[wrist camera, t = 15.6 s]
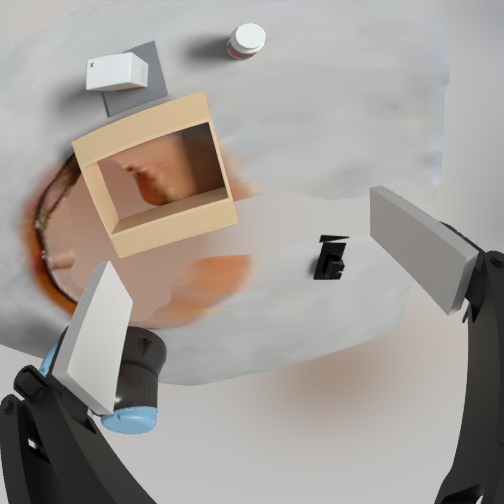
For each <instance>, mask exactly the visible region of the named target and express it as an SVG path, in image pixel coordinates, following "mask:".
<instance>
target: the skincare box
mask: <svg viewBox="0 0 504 504" xmlns="http://www.w3.org/2000/svg"><path fill="white" fill-rule="evenodd" d="M147 80H148V64H147V63H146V62H145V61H143V60H142V59H140V58H139V57H138V56H136V55H135V54H133V53H132V52H127V53H121V54H114V55H107V56H103V57H98V58H93V59H89V60H87V66H86V90H95V91H110V92H115V91H121V90H127V89H136V88H147Z"/></svg>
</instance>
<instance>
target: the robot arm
mask: <svg viewBox="0 0 504 504" xmlns="http://www.w3.org/2000/svg"><path fill="white" fill-rule="evenodd" d="M370 210H371V211H370V226H371V228H370V236H371V237H372V238H373V239H374V240H376V241H377V242H378V243H379V244H380V245H381V246H382V247H383V248H384V249H385V250H386V251H387V252H388V253H389V254H390V255H391V256H392V257H393V258H394V259H395V260H396V261H397V262H398V263H399V264H400V265H401V266H402V267H403V268H404V269H405V270H406V271H407V272H408V273H409V274H410V275H411V276H412V277H413V278H414V279H415V280H416V281H417V282H418V283H419V284H420V285H421V286H422V287H423V289H424V290H425V291H426V292H427V293H428V294H429V295H430V296H431V297H432V298H433V299H434V301H436V303H437V304H438V305H439V306H440V307H441V308H442V310H443V311H444V312H445V313H446V314H447V315H448V316H449V315H451V314H453V313H455V312H456V311H458V310H460V309H461V307H462V304H463V301H464V298H466V299H467V300H468V301H469V305H468V308H467V310H466V312H465V315H464V317H463V320H462V323H464V322H465V320H466V318H467V317H468V371H467V385H466V395H465V404H464V412H463V418H462V425H461V430H460V436H459V440H458V445H457V449H456V454H455V458H454V462H453V465H452V468H451V470H450V472H449V473H448V475H447V476H446V477H445V479H444V481H443V483H442V484H441V487H440V489H439V492H438V495H437V497H436V500H435V503H434V504H476V502H477V500H478V499H479V498H480V496H482V495H483V498H482V501H481V504H504V254H503V253H501V252H498V251H489V252H487V253H485V252H484V251H483V250H482V249H481V248H479V247H478V246H477V245H475V244H474V243H473V242H472V241H470V240H469V239H468V238H466V237H464V235H462V234H461V233H459V232H457V230H455V229H454V228H453V227H451V226H450V225H448V224H445V223H443V222H440V221H437V220H436V219H434V218H433V217H432V216H430V215H429V214H427V213H426V212H424V211H423V210H421V209H420V208H418V207H416V206H415V205H413V204H412V203H410V202H409V201H407V200H406V199H404V198H402V197H401V196H399V195H397V194H396V193H394V192H393V191H391V190H389V189H387V188H386V187H384V186H382V185H381V186H377V187H372V188H370ZM132 304H133V301H132V300H131V298H130V296H129V295H128V293H127V291H126V289H125V288H124V286H123V284H122V282H121V281H120V279H119V277H118V275H117V273H116V271H115V270H114V268H113V266H112V264H111V262H110V260H107V261H104V262H101V263H98V264H97V265H96V267H95V269H94V271H93V273H92V275H91V277H90V279H89V281H88V283H87V285H86V288H85V289H84V292H83V294H82V296H81V298H80V300H79V303H78V305H77V307H76V310H75V312H74V314H73V317H72V319H71V321H70V324H69V326H67V328H66V329H65V331H64V332H63V333H62V335H61V337H60V339H59V342H58V343H55V344H53V345H52V347H51V348H50V349H49V351H48V353H47V354H46V356H45V358H44V360H43V362H42V364H41V367H40V369H39V371H38V370H37V369H36V368H35V367H34V366H32V365H28V366H25V367H24V368H22V369H21V370H20V371H19V373H18V374H17V376H16V378H15V380H14V390H15V391H16V392H18V393H19V394H20V395H21V396H22V397H23V398H24V399H25V400H22V401H21V400H20V399H18V398H17V397H16V396H15V395H13V394H10V395H7V396H6V397H5V398H4V399H3V400H2V402H1V405H0V449H1V461H2V468H3V476H4V481H5V488H6V492H7V498H8V502H9V504H157V503H156V502H155V501H154V500H153V499H152V498H151V497H150V496H149V495H148V494H147V493H146V491H145V490H144V489H143V488H142V487H141V486H140V484H139V483H138V482H137V481H136V480H135V479H134V477H133V476H132V475H131V474H130V472H129V471H128V470H127V469H126V467H125V466H124V465H123V464H122V462H121V461H120V459H119V458H118V457H117V455H116V454H115V452H114V451H113V450H112V448H111V447H110V445H109V444H108V442H107V441H106V439H105V438H104V436H103V435H102V433H101V432H100V430H99V429H98V427H97V426H96V424H95V422H94V421H93V419H92V418H93V414H94V415H96V416H99V417H101V422H102V425H103V426H104V427H105V428H107V429H109V430H111V431H114V432H117V433H122V434H142V433H146V432H148V431H151V430H152V429H153V428H154V427H155V425H156V418H157V413H158V410H157V391H158V375H159V373H160V371H161V369H162V366H163V364H164V363H165V360H166V352H167V350H166V346H165V343H164V342H163V341H162V339H161V338H160V337H158V336H157V335H156V334H154V333H152V332H150V331H148V330H146V329H142V328H138V327H127V326H128V322H129V317H130V312H131V308H132ZM28 439H29V440H31V441H33V442H34V443H35V445H34V448H33V447H31V446H30V445H29V442H28Z"/></svg>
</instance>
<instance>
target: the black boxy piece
mask: <svg viewBox="0 0 504 504" xmlns="http://www.w3.org/2000/svg"><path fill="white" fill-rule="evenodd" d="M347 238H350V237H349V236H335V235H321V237H320V240H319V243H323V242H324V243H323V246H322V249H321V253H320V257H319V260H318V264H317V267H316V271H315V274H314V278H313V279H314V280H339V279H340V278H341V275H342V273H341V272H339V271H343V269H344V266H345V265H344V264H343V260H342V259H341V258H342V255H343V252H344V249H345V246H346V243H330V242H331V241H336V240H341V239H347Z"/></svg>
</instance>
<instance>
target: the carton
mask: <svg viewBox="0 0 504 504" xmlns="http://www.w3.org/2000/svg"><path fill="white" fill-rule="evenodd" d="M206 122H208V123H209V126H210V130H211V134H212V138H213V142H214V145H215V149H216V153H217V157H218V161H219V164H220V168H221V172H222V176H223V179H224V183H225V187H222V188H219V189H215V190H212V191H208V192H205V193H201V194H198V195H194V196H191V197H188V198H184V199H181V200H178V201H175V202H172V203H168V204H165V205H162V206H159V207H156V208H153V209H150V210H147V211H144V212H142V213H138V214H135V215H133V216H130V217H127V218H124V219H121V220H120V219H119V217H118V215H117V212H116V210H115V207H114V205H113V202H112V200H111V198H110V195H109V193H108V190H107V188H106V185H105V183H104V180H103V177H102V174H101V172H100V169H99V166H98V163H97V161H99V160H101V159H103V158H105V157H108V156H110V155H113V154H115V153H117V152H120V151H122V150H125V149H127V148H130V147H132V146H135V145H138V144H140V143H143V142H146V141H149V140H151V139H154V138H157V137H160V136H163V135H166V134H169V133H172V132H175V131H178V130H182V129H185V128H188V127H192V126H195V125H198V124H202V123H206ZM71 143H72V146H73V149H74V152H75V155H76V158H77V160H78V163H79V166H80V169H81V172H82V174H83V177H84V180H85V182H86V185H87V187H88V190H89V192H90V195H91V197H92V199H93V202H94V204H95V207H96V209H97V211H98V214H99V216H100V218H101V220H102V223H103V224H104V227H105V229H106V231H107V233H108V236H109V238H110V240H111V242H112V244H113V246H114V248H115V250H116V252H117V254H118V256H119V258H123V257H126V256H129V255H132V254H135V253H138V252H142V251H145V250H148V249H151V248H155V247H158V246H161V245H164V244H168V243H171V242H174V241H178V240H181V239H184V238H188V237H192V236H195V235H198V234H202V233H205V232H209V231H212V230H216V229H219V228H223V227H227V226H230V225H234V224H237V223H239V222H238V218H237V214H236V210H235V207H234V203H233V199H232V195H231V191H230V188H229V184H228V180H227V176H226V172H225V169H224V165H223V161H222V157H221V153H220V149H219V146H218V142H217V138H216V134H215V130H214V126H213V123H212V119H211V115H210V111H209V107H208V103H207V99H206V95H205V92H200V93H196V94H193V95H189V96H186V97H182V98H179V99H176V100H173V101H169V102H166V103H163V104H160V105H157V106H155V107H152V108H149V109H146V110H143V111H141V112H138V113H136V114H133V115H130V116H128V117H125V118H123V119H121V120H118V121H116V122H113V123H111V124H109V125H107V126H104V127H102V128H100V129H98V130H96V131H93V132H91V133H89V134H87V135H85V136H83V137H81V138H79V139H77V140H75V141H73V142H71Z"/></svg>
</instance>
